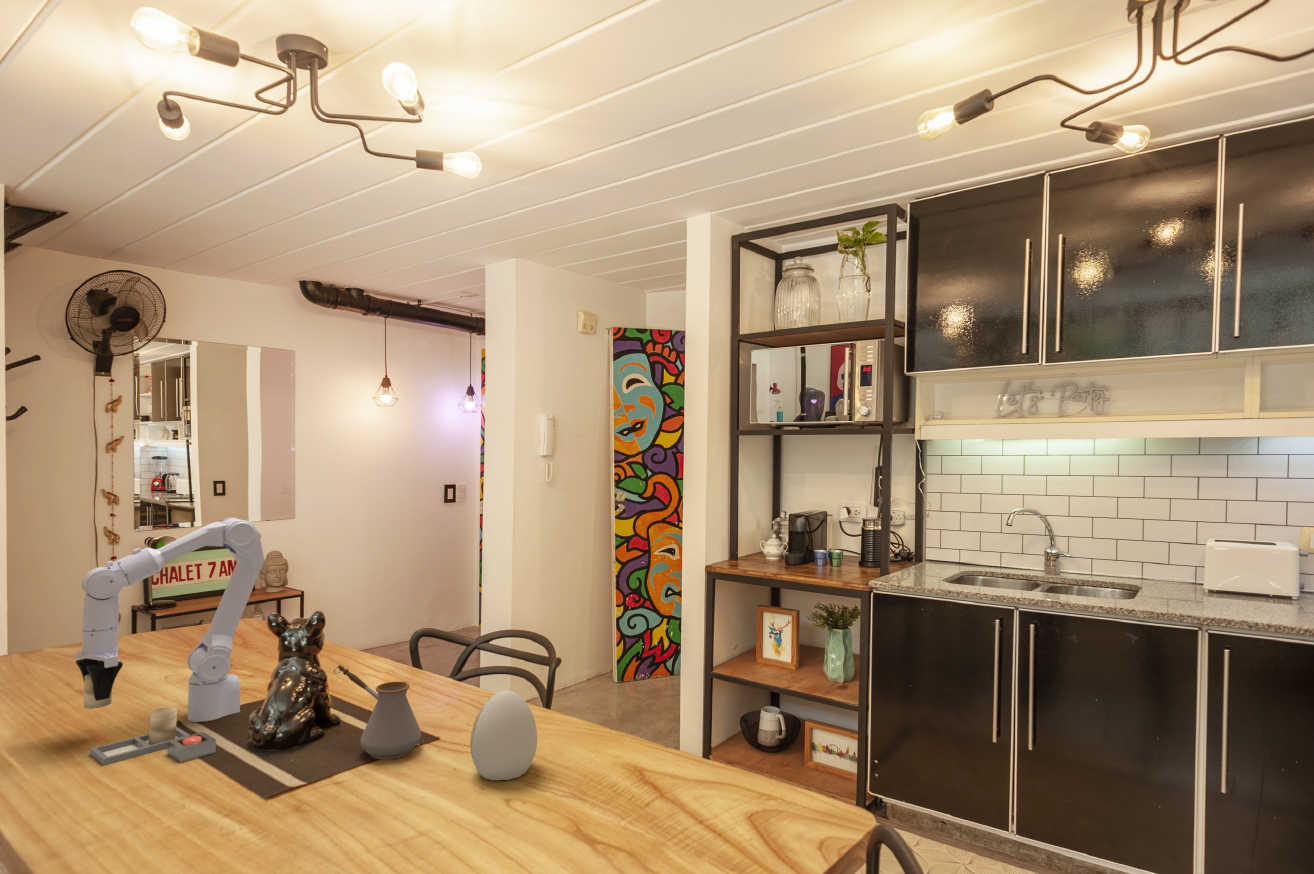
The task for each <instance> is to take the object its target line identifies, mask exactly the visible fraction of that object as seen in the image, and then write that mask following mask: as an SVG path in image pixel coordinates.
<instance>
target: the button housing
mask: <svg viewBox="0 0 1314 874" xmlns="http://www.w3.org/2000/svg"><path fill="white" fill-rule="evenodd" d="M191 736H201V737H202V738H201V742H199V743H195V744H191V745H188V746H183V739H185V738H187V737H191ZM216 749H217V739H216V738H214V737H212V736H211V735H209V734H207V733H205V732H204V731H201V732H198V733H194V734H190V735H189V736H186V737H182V738H178V739H175V740H171V741H168V748H167V755H168V756H170V757H171V758H173V759H174V760H175V761H177V762H179V763H184V762H189V761H190V760H194V759H197V758H201V757H205V756H207V755H212V754H214V753H215V754H216V753H217V752H216Z"/></svg>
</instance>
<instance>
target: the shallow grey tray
mask: <svg viewBox="0 0 1314 874" xmlns="http://www.w3.org/2000/svg"><path fill="white" fill-rule="evenodd" d="M189 735H191V734H189V733H188V732H186V731H184V730H183V729H181V728H180V727H178V726H176V737H175V739H178V738H182V737H186V736H189ZM175 739H172V740H175ZM168 741H171V740H168ZM168 741H164V742H161V743H157V744H153V745H149V744H148V743H149V733H145V734H141V735H138V736H133V737H129V738H126V739H122V740H118V741H115V742H110V743H106V744H102V745H98V746H95V747H90V748H89V756H91V757H93V759H95V760H96V761H97V762H98V763H100V764H101V765H103V766H107V765H111V764H114V763H117V762H122V761H126V760H128V759H132V758H136V757H140V756H143V755H147V754H151V753H155V752H158V751H162V750H166V749H168Z"/></svg>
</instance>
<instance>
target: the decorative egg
mask: <svg viewBox="0 0 1314 874" xmlns="http://www.w3.org/2000/svg"><path fill="white" fill-rule="evenodd" d="M537 747H538V730H537V725H536V721H535V717H534V714H533V712H532V710H531V708H530V706H529V705H528V703H527V702H526V701H525V699H524V698H523V697H522V696H520V695H519V694H518V693H517V692H514V691H511V690H501V691H498V692H496V693H494V694H493V695H492V696H490V697H489V698H488V699H487V701H486V702H484V704H483V706H481V708H480V710H479V712H478V713H477V716H476V717H475V720H474V723H473V726H472V730H471V735H470V754H471V759H472V762H473V765H474V766H475V769H476V770H477V772H478V773H479V774H480V776H482V777H483V778H484V779H487V780H489V779H490V780H489V781H492V780H508V781H510V780H509V779H513V778H515V779H517V778H516V777H518V776H520V775H522V774H523V775H525V773H526V772H527V771H528V770H529V768H530V767H531V764H532V762H533V760H534V758H535V756H536V753H537ZM523 775H522V776H523ZM520 777H521V776H520ZM518 778H519V777H518ZM513 780H514V779H513Z"/></svg>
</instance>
